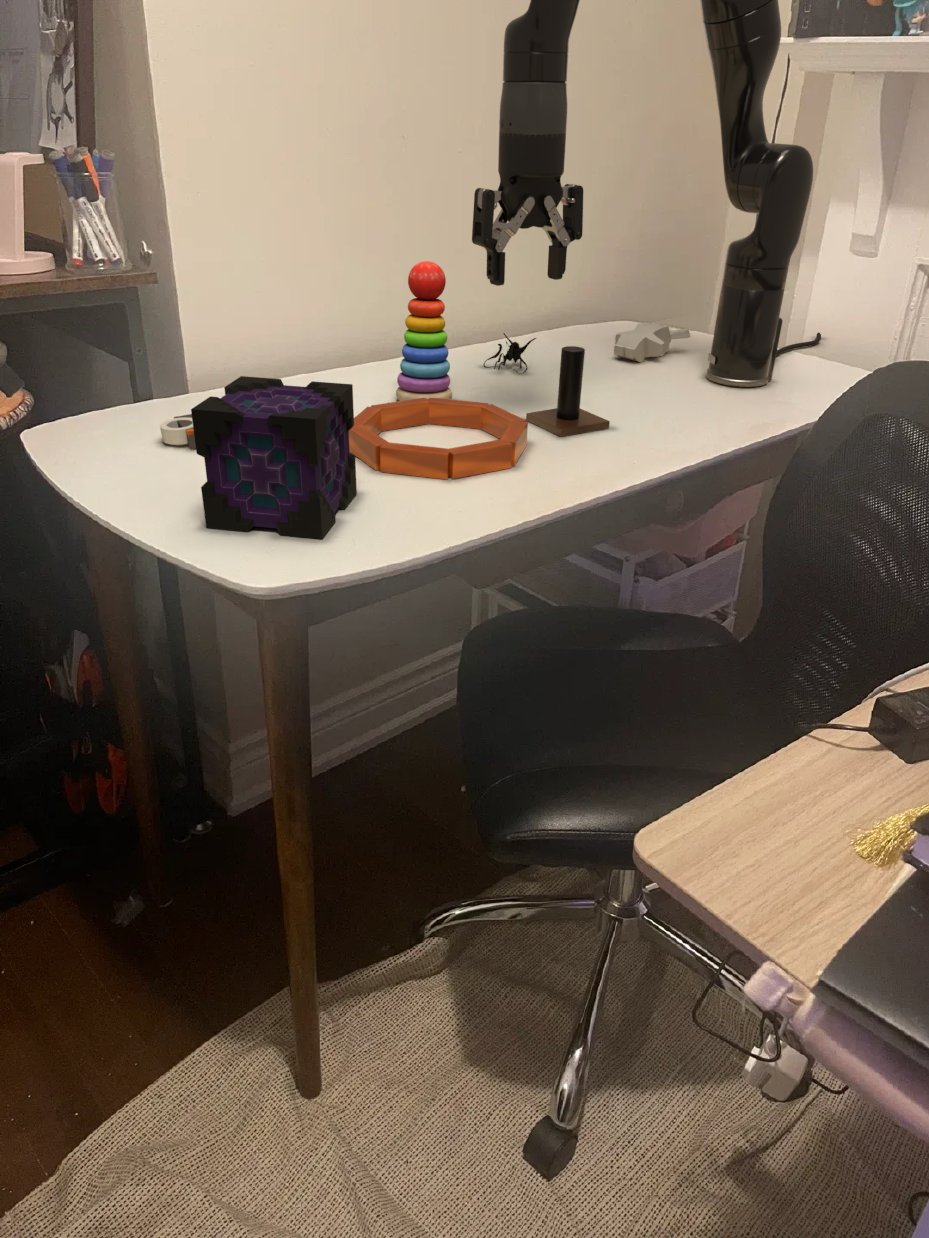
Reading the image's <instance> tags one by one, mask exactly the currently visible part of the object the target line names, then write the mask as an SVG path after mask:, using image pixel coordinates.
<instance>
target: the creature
mask: <svg viewBox="0 0 929 1238" xmlns="http://www.w3.org/2000/svg"><path fill="white" fill-rule="evenodd" d="M502 335H504V337H505V338H506V339H507V340H506V339H505V340H504V341H505V344H506V346H507V347H508V349H506V353H505V354H504V352H502V349H503V344H502V343H498V344H497V346H499V348H498V351H497V352H496V353H495V354H493V355H492V356H491V357H488V358H487V359H486V360H485V361H484V363H483V367H484V368H487V369H488V368H490V366H486V365H485V364H486V362H487V361H489V360H493V359H495V358H498V359H497V361H495V364H494V365H493V366H491V368H493V369H494V370H495V369H496V368H497V370H500V368H501V366H505V365H506V364H507V361H508V362H511V361H513V362H514V364H517V361H519V369H522V367H523V366H522V364H524V365H525V369H524V371H523V372H519V371H516V368H514V369H513V368H512V370H513V371H516V373H517V374H519V375H522V374H524V373H525V372H527V371H528V365H527V362H525V361H524V359H523V358H522V356H521V355H523V353H525V351H526V349H527V348H528V347H529V345H530V344H531V343H532V342H533V341H535V340H536V339H537V337H534V338H532V339H530V340H529V341H528V342H526V344H525V345H523V346H520V344H519V342H517V341H512V340H511V339H510V338H509V337H508V336H507V335H506V333H505V332H502ZM508 342H509V343H508ZM509 344H510V345H509ZM502 358H503V361H501V360H502ZM497 363H499V364H498V365H497Z"/></svg>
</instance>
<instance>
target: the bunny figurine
mask: <svg viewBox="0 0 929 1238" xmlns="http://www.w3.org/2000/svg"><path fill="white" fill-rule="evenodd" d="M614 338H615V339H614V340H615V341H614V345H613V355H615V356H616V357H618V358H621V359H626V360H631V361H636V362H639V363H643V362H644V361H645V358H650V357H653V358H658V357H664V356H665V354H666V353H667V352H668V350H669V347H670V345H671V344H672V343H671V342H672V341H673V340H683V339H685V340H686V339H690V338H691V333H690V330H689V328H680V329H675V330H672V331H670V326H668V325H665V324H662V323H658V322H655V323H652V322H648V321H643V322H640V323H638V324H637V325H636V326H635V327H634V329H632V330H627V331H621V332H617V333H616V334H615V337H614Z"/></svg>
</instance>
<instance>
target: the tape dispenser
mask: <svg viewBox="0 0 929 1238" xmlns="http://www.w3.org/2000/svg"><path fill="white" fill-rule="evenodd" d="M159 429H160V434H161V439H162V442H163V443H165V444H167V445H174V446H175V445H176V446H177V445H179V446H180V445H186V446H187V447H188V448H189V449H190V450H196V444H195V437H194V429H193V421H192V413H189V414H184V415H177V416H174V417H173V418H171V419H167V420H165V421H163V422H161V423H160V424H159Z"/></svg>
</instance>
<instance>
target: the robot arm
mask: <svg viewBox="0 0 929 1238" xmlns="http://www.w3.org/2000/svg"><path fill="white" fill-rule="evenodd" d="M580 1H581V0H530V2H529V4H528V8H527V11H525V13H523V14H521V15H520V16H518V17H516V18H514V19H512V20H511V21H510V22H508V24H507V25H506V27H505V30H504V35H503V56H502V58H503V59H502V60H503V61H502V86H501V87H502V89H501V95H500V102H499V120H498V121H499V122H498V125H499V126H498V127H499V128H498V129H499V130H498V158H497V159H498V160H497V161H498V163H497V164H498V165H497V172H498V175H499V185H498V188H497V189H490V188H483V187H477V188H476V189H475V191H474V195H473V196H474V197H473V210H472V211H473V212H472V213H473V214H472V228H471V230H472V231H471V242H472V243H473V244H474V245H476V246H479V247H481V248H483V249H485V251H486V278H487V280H489V284H491V285H494V286H496V287H497V286H499V287H500V286H504V285H505V280H506V279H505V276H506V275H505V273H506V252H505V251H504V250H505V249H506V247H507V245H508V243H509V242H510V240H511V238H512V237H514V236H515V235H516V234H517V233H518V231H519V229H520V230H521V229H522V230H525V229H530V228H532V227H535V228H538V229H539V228H541V229H542V231H544V232H545V234H546V236H547V238H548V239H549V242H550V243H551V245H548V254H547V255H548V256H547V277H548V278H549V279H552V280H554V281H555V280H556V281H557V280H562V279H563V277H564V274H565V272H566V267H567V255H568V253H567V252H568V246H570V244H571V243H572V242H574V241H579V240H581V239H582V237H583V231H584V230H583V229H584V227H583V225H584V224H583V222H584V187H583V185H580V184H579V185H578V184H574V183H566V184H565V185H564V186H562V181H561V178H562V176H563V175H564V172H565V161H566V144H567V143H566V142H567V123H568V93H567V92H568V91H567V90H568V89H567V87H568V84H567V81H568V65H569V45H570V38H571V35H572V34H571V33H572V29H573V26H574V23H575V19H576V16H577V14H578V13H577V12H578V9H579V4H580ZM699 3H700V11H701V18H702V19H701V20H702V23H703V29H704V36H705V40H706V46H707V51H708V57H709V60H710V65H711V71H712V76H713V83H714V90H715V97H716V103H717V111H718V117H719V118H718V119H719V126H720V139H721V153H722V166H723V167H722V168H723V177H724V178H723V179H724V185H725V191H726V194H727V198H728V200H729V202H730V204H731V205H732V206H733V208H735V209H736V210H738V211H740V212H744V213H748V214H754V215H757V217H756V220H755V221H756V222H755V224H754V228H753V230H752V231H751V232H750V233H748V235H747V236H745V237H742V238H739V239H736V240H733V241H731V242H730V243H729V244H728V246H727V248H726V249H727V250H726V254H725V260H724V268H723V273H722V280H721V287H720V293H719V300H718V306H717V313H716V317H715V318H716V319H715V325H714V330H713V337H712V344H711V348H710V349H711V350H710V353H708V358H707V361H708V362H709V363H708V368H707V370H706V378H707V379H708V380H709V381H711V382H714V383H717V384H720V385H723V386H730V387H738V388H755V387H761V386H765V385H766V384H768V383H769V382H771V381H772V378H773V373H774V369H775V363H776V357H777V356H778V355H780V354H782V353H785V352H788V351H790V350H794V349H800V348H805V347H810V346H814V345H817V344H819V342H820V341H821V339H822V333H821V332H817V333H816V337H815V339H814V340H810V341H804V342H796V343H793V344H788V345H786V346H783V347H780V348H779V342H780V337H781V332H782V327H783V318H781V317H780V315H781V310H782V305H783V301H784V294H785V288H786V283H787V278H788V273H789V267H790V263H791V260H792V259H791V258H792V256H793V254H794V252H795V250H796V248H797V246H798V243H799V241H800V238H801V233H802V229H803V224H804V221H805V216H806V212H807V209H808V204H809V201H810V196H811V192H812V186H813V181H814V162H813V157H812V155H811V154H810V151H809V150H808V149H807V148H805V147H804V146H802V145H799V144H791V143H790V144H788V143H775V142H769V140H768V137H767V132H766V127H765V120H764V119H765V118H764V96H765V91H766V88H767V85H768V81H769V79H770V76H771V74H772V71H773V68H774V65H775V63H776V59H777V55H778V53H779V49H780V44H781V38H782V22H781V21H782V20H781V12H780V3H779V0H699ZM560 203H561V204H562V216H561V214H560V212H559V210H558V207H559V204H560ZM498 206H499V207H500V212H499V213H498V214H497V216H496V217H495V215H494V214H495V210H496V209H497V208H498ZM494 217H495V220H494ZM820 333H821V334H820ZM778 348H779V349H778Z"/></svg>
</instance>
